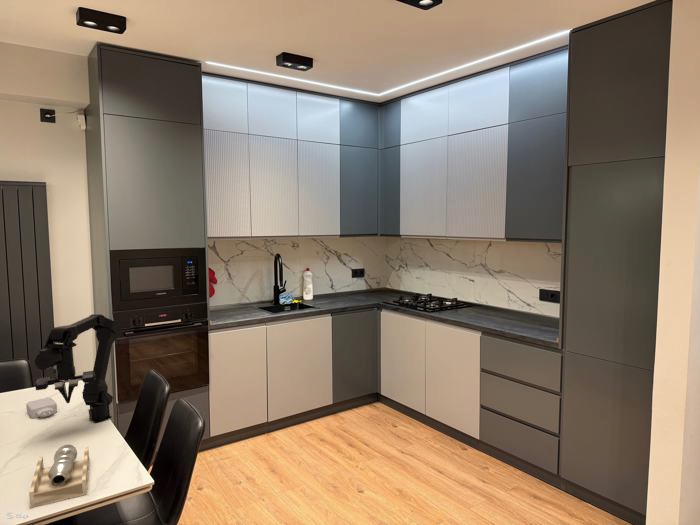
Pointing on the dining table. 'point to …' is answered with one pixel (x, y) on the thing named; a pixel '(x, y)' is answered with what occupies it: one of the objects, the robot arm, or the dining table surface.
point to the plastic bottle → (62, 465)
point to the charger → (41, 407)
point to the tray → (48, 493)
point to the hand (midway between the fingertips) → (68, 402)
